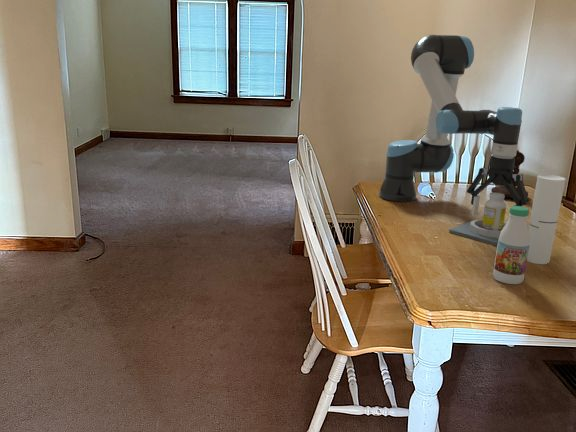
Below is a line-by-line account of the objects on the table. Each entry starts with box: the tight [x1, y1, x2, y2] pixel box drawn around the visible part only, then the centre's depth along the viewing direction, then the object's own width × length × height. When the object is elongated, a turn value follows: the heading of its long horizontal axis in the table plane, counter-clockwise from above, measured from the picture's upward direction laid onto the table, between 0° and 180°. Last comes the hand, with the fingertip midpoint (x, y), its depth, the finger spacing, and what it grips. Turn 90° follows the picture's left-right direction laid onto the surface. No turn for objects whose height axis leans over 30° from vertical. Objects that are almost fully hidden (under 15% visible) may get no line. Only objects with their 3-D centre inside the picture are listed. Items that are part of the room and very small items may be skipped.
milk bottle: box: [492, 205, 530, 285], centre depth 138 cm, size 8×8×20 cm
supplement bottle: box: [482, 192, 507, 231], centre depth 175 cm, size 7×7×13 cm
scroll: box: [490, 149, 529, 198], centre depth 224 cm, size 15×15×20 cm
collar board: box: [448, 218, 507, 247], centre depth 177 cm, size 20×20×3 cm
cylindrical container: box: [527, 174, 566, 265], centre depth 152 cm, size 7×7×25 cm
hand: (493, 219), depth 176 cm, fingers open, 13 cm apart
